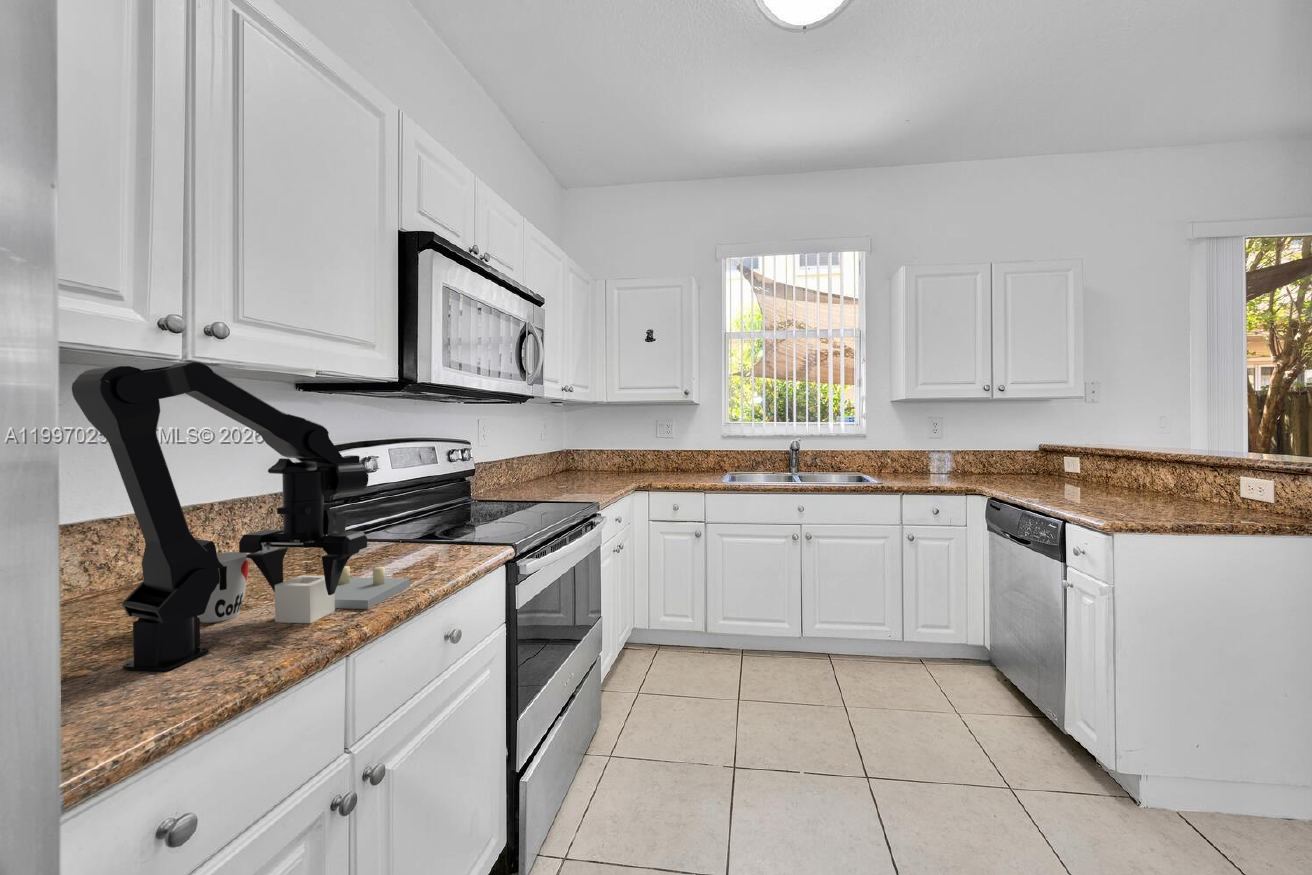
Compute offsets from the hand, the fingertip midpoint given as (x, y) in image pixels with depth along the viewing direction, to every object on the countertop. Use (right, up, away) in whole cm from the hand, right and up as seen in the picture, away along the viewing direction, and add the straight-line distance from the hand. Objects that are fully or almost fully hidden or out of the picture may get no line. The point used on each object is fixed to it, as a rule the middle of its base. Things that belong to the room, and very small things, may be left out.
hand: (304, 593), depth 94 cm
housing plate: (+2, -4, +12) cm, 12 cm away
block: (0, -4, 0) cm, 4 cm away
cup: (-14, -4, 0) cm, 15 cm away
